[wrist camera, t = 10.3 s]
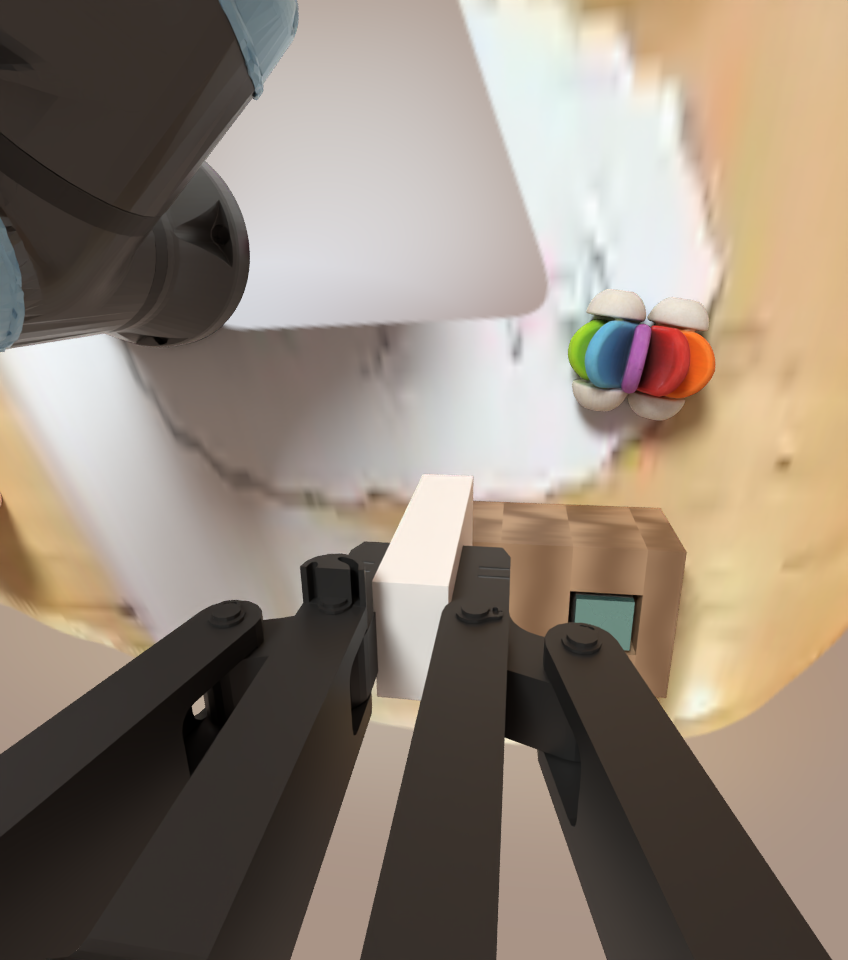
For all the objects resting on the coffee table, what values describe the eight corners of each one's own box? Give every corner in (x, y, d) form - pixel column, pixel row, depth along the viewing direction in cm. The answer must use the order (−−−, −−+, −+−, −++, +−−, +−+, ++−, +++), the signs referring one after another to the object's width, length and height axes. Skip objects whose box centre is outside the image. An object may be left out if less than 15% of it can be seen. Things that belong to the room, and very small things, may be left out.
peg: (565, 591, 51) (572, 646, 44) (568, 549, 50) (576, 598, 43) (613, 594, 51) (629, 650, 43) (617, 552, 50) (634, 602, 42)
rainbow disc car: (681, 417, 46) (710, 443, 39) (554, 396, 46) (561, 418, 40) (715, 303, 43) (752, 309, 36) (579, 283, 44) (590, 285, 37)
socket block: (418, 620, 55) (402, 675, 47) (415, 498, 51) (397, 538, 43) (645, 636, 52) (666, 697, 44) (660, 508, 48) (686, 552, 40)
